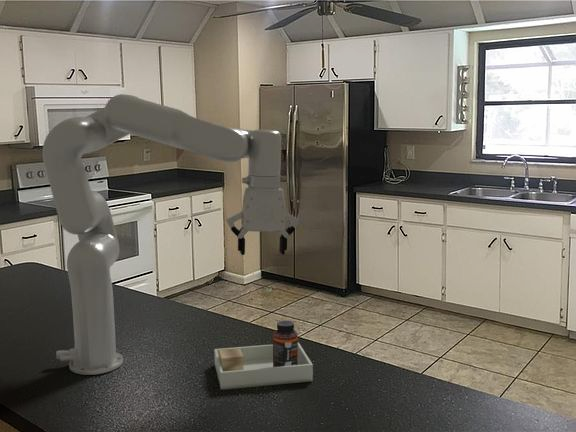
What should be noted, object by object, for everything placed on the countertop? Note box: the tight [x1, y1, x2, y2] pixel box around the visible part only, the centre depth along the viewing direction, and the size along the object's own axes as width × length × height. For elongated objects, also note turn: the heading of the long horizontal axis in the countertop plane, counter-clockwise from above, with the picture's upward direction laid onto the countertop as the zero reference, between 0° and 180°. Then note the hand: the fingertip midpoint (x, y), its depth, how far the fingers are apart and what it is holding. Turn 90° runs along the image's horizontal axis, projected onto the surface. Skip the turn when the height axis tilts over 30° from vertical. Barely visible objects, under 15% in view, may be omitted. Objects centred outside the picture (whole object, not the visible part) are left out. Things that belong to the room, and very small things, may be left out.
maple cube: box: [219, 348, 244, 372], centre depth 145 cm, size 5×5×5 cm
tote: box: [214, 341, 314, 391], centre depth 147 cm, size 21×14×4 cm
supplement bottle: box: [272, 320, 299, 367], centre depth 147 cm, size 6×6×11 cm
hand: (262, 253), depth 148 cm, fingers open, 9 cm apart
